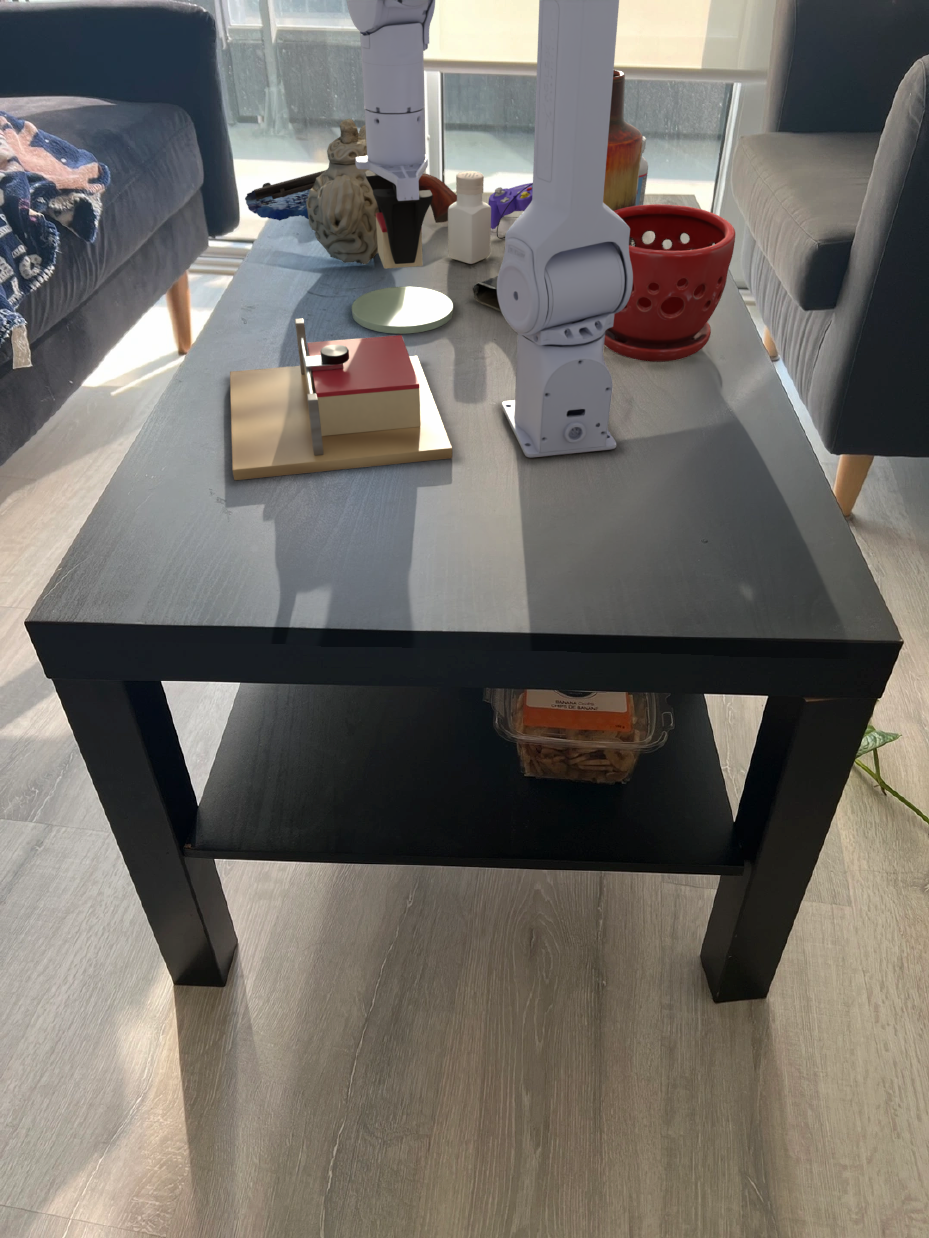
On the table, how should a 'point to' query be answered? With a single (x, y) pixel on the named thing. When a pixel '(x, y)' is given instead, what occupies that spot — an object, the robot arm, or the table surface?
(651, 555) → the table surface
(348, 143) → the teapot
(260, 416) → the board
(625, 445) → the table surface
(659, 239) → the flower pot
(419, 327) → the plate
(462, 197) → the pepper shaker
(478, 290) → the camera
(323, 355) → the blade
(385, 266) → the cake slice
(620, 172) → the vase
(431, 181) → the revolver
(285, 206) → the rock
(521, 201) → the game controller
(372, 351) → the red and beige block
